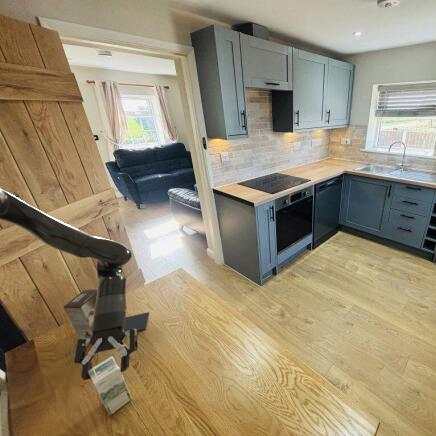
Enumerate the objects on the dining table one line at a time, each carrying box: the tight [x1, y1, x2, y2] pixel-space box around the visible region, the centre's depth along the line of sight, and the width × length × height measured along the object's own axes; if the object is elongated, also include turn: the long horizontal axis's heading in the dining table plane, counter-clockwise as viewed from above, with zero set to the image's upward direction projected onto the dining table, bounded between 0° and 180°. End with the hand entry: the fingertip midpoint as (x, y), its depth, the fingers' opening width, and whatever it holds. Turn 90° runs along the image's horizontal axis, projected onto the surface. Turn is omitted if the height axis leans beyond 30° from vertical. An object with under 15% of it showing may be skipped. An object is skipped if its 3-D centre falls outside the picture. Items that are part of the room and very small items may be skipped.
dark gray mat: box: [89, 311, 150, 345], centre depth 92 cm, size 20×9×1 cm, turn 111°
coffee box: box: [63, 288, 98, 340], centre depth 88 cm, size 9×6×16 cm
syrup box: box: [88, 355, 133, 417], centre depth 66 cm, size 6×6×14 cm
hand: (105, 375), depth 64 cm, fingers open, 8 cm apart
